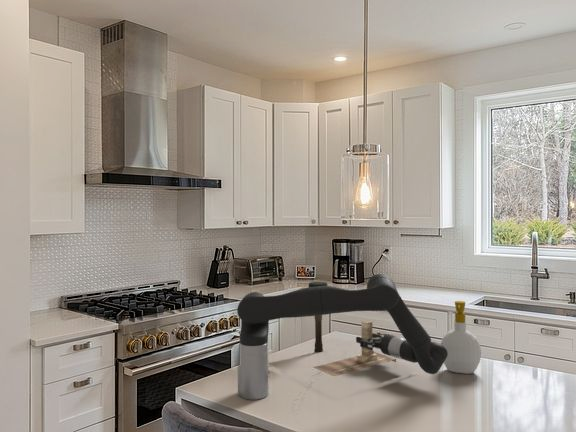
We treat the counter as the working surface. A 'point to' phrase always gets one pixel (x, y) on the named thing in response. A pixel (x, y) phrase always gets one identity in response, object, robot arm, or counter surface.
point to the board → (351, 364)
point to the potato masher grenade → (318, 323)
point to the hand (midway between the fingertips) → (364, 337)
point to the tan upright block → (366, 353)
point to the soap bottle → (461, 345)
